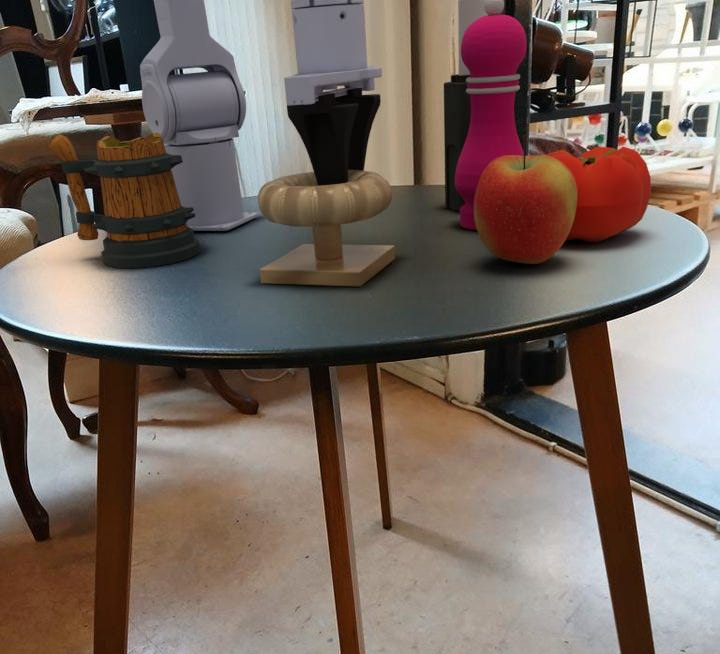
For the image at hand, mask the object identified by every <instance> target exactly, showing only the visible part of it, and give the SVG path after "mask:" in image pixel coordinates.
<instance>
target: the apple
mask: <svg viewBox="0 0 720 654" xmlns="http://www.w3.org/2000/svg"><path fill="white" fill-rule="evenodd" d="M527 137H528V135H527V134H525V135H522V136H521V141H522V149H523V152H524V156H518V155H505V156H501V157H498V158H496V159H494V160H493V161H492V162H490V163H489V164H488V165H487V167H486V168H485V170H484V171H483V173H482V175H481V177H480V180H479V182H478V185H477V189H476V193H475V198H474V218H475V224H476V228H477V230H476V231H477V234H478V236H479V238H480V240H481V242H482V244H483V245H484V246H485V248H486V249H487V250H488V252H490V253H491V254H492V255H493V256H495V257H496V258H499V259H500V260H502V261H506V262H512V263H517V264H518V263H519V264H526V265H539V264H542V263H544V262H546V261H547V260H550V259H551V258H552V257H553V256H554V255H555V254H556V253H557V252H559V250H560V249H561V248H562V246H563V245H564V243H565V240H566V238H567V236H568V234H569V232H570V229H571V227H572V224H573V221H574V217H575V212H576V207H577V185H576V181H575V178H574V176H573V174H572V173H571V171H570V170H569V169H568V167H567V166H566V165H565V164H564V163H562V162H561V161H560V160H558V159H556V158H554V157H551V156H547V154H538V155H526V141H527ZM566 241H567V240H566Z"/></svg>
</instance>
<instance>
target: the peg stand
mask: <svg viewBox="0 0 720 654" xmlns="http://www.w3.org/2000/svg"><path fill="white" fill-rule="evenodd" d="M341 225H342V224H339V225H330V226H320V227H311V229H312V230H311V231H312V238H313V243H310V244H309V243H303V244H300V245H299V246H297V247H295V248H294V249H292V250H291V251H289V252H286V253H285V254H284V255H282V256H280V257H278V258H277V259H275V260H273V261H271V262H270V263H268V264H266V265H265V266H263V267H261V268H259V277H260V283H261V284H271V285H272V284H275V285H276V284H277V285H299V286H300V285H301V286H330V287H331V286H332V287H333V286H334V287H356V288H357V287H359V288H361V287H362V286H363V285H364V284H366V283H367V282H368V281H370V280H371V279H372V278H373V277H375V276H376V275H377V274H378V273H379V272H380V271H383V269H385V268H386V267H387V266H388V265H389V264H391V263H392V262H393V261H394V260H395V259H396V246H395V245H392V244H391V245H389V244H387V245H386V244H385V245H384V244H343V238H342V226H341Z"/></svg>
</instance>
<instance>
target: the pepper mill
mask: <svg viewBox="0 0 720 654" xmlns="http://www.w3.org/2000/svg"><path fill="white" fill-rule="evenodd" d="M504 8H505V1H504V0H486V1H485V4H484V9H485V12H486V14H487V16H483V17H481V18H479V19H477V20H475V21H474V22H473V23H471V24H470V25H469V27H468V28H467V29H466V31H465V33H464V35H463V38H462V43H461V58H462V61H463V63H464V65H465V66H466V67H467V69H468V70H469V72H470V77H468V78H467V79H466V82H467V83H468V85H467V87H468V88H467V89H466V93H468V94H470V98H471V120H470V127H469V131H468V135H467V138H466V141H465V144H464V146H463V149H462V152H461V155H460V157H459V160H458V164H457V168H456V172H455V187H456V190H457V191H458V193H459V194H460V195H461V197H462V198H463V199H464V201H465V203H466V204H465V205H463V206H461V208H460V212H459V226H460V227H461V228H463V229H466V230H470V231H477V228H476V224H475V218H474V198H475V193H476V189H477V185H478V182H479V180H480V177H481V175H482V173H483V171H484V170H485V168H486V167H487V165H488V164H489V163H490V162H492V161H493V160H494V159H496V158H498V157H501V156H505V155H518V156H524V152H523V145H522V144H521V142H520V138H519V135H518V131H517V127H516V119H515V100H516V92H518V91H519V90H520V89H521V86H520V85H519V84H520V81H519V80H520V79H521V74H519V73H517V70H518V68H519V66H520V64H522V62H523V61H524V60H525V59H524V58H525V57H526V53H527V48H528V47H527V46H528V44H527V42H528V41H527V35H526V31H525V28H524V26H523V25H522V24H521V23H520V21H519V20H517V18H515V17H513V16H511V15H507V14H503V11H504Z"/></svg>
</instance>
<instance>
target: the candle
mask: <svg viewBox="0 0 720 654" xmlns="http://www.w3.org/2000/svg"><path fill="white" fill-rule="evenodd" d="M485 1H486V0H457V5H458V7H457V12H458V13H457V17H458V19H457V21H458V25H457V27H458V29H457V30H458V31H457V33H458V36H457V37H458V43H457V44H458V74H451V75H450V81H445V82H444V83H443V128H444V129H443V132H444V133H443V134H444V136H443V139H444V145H443V146H444V204H445V205H444V206H445V207H444V208H445V209H446V210H447V209H448V210H449V209H450V210H453V211H457V212H459V213H460V208H461V206H463V205H465V204H466V203H465V201H464V199H463V198H462V197H461V195H460V194H459V193H458V191H457V190H456V187H455V172H456V168H457V164H458V160H459V157H460V155H461V152H462V149H463V146H464V144H465V141H466V138H467V135H468V131H469V127H470V120H471V98H470V94H468V93H466V89H467V88H468V87H467V85H468V83H467V82H466V79H467V78H468V77H470V72H469V70H468V69H467V67H466V66H465V65H464V63H463V61H462V58H461V43H462V38H463V35H464V33H465V31H466V29H467V28H468V27H469V25H470V24H471V23H473V22H474V21H475V20H477V19H479V18H481V17H483V16H487V14H486V12H485V9H484V4H485Z"/></svg>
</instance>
